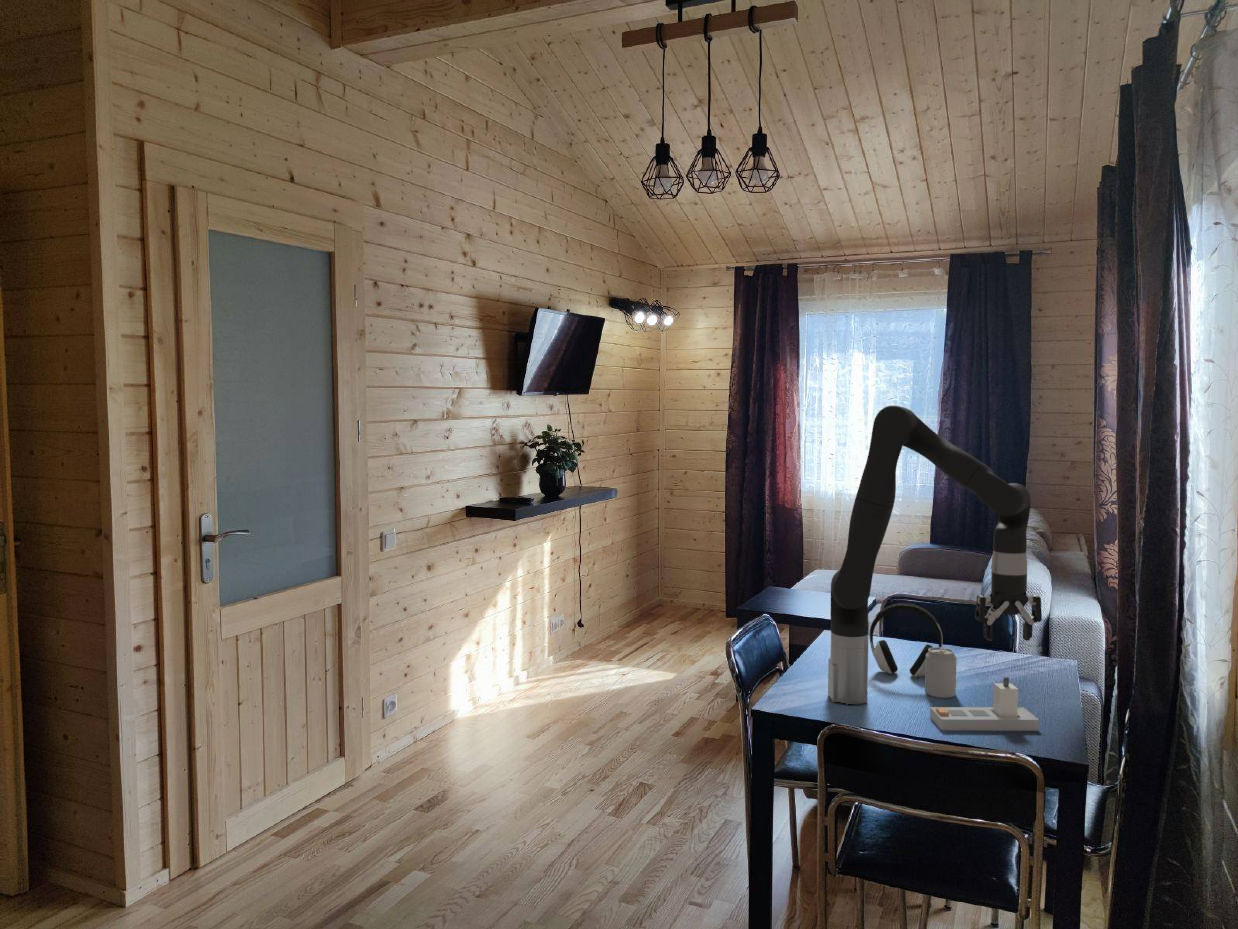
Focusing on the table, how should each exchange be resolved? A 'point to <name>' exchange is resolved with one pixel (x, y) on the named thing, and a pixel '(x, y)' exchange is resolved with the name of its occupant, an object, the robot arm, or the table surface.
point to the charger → (1005, 699)
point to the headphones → (882, 648)
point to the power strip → (981, 719)
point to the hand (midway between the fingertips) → (1007, 640)
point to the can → (940, 672)
